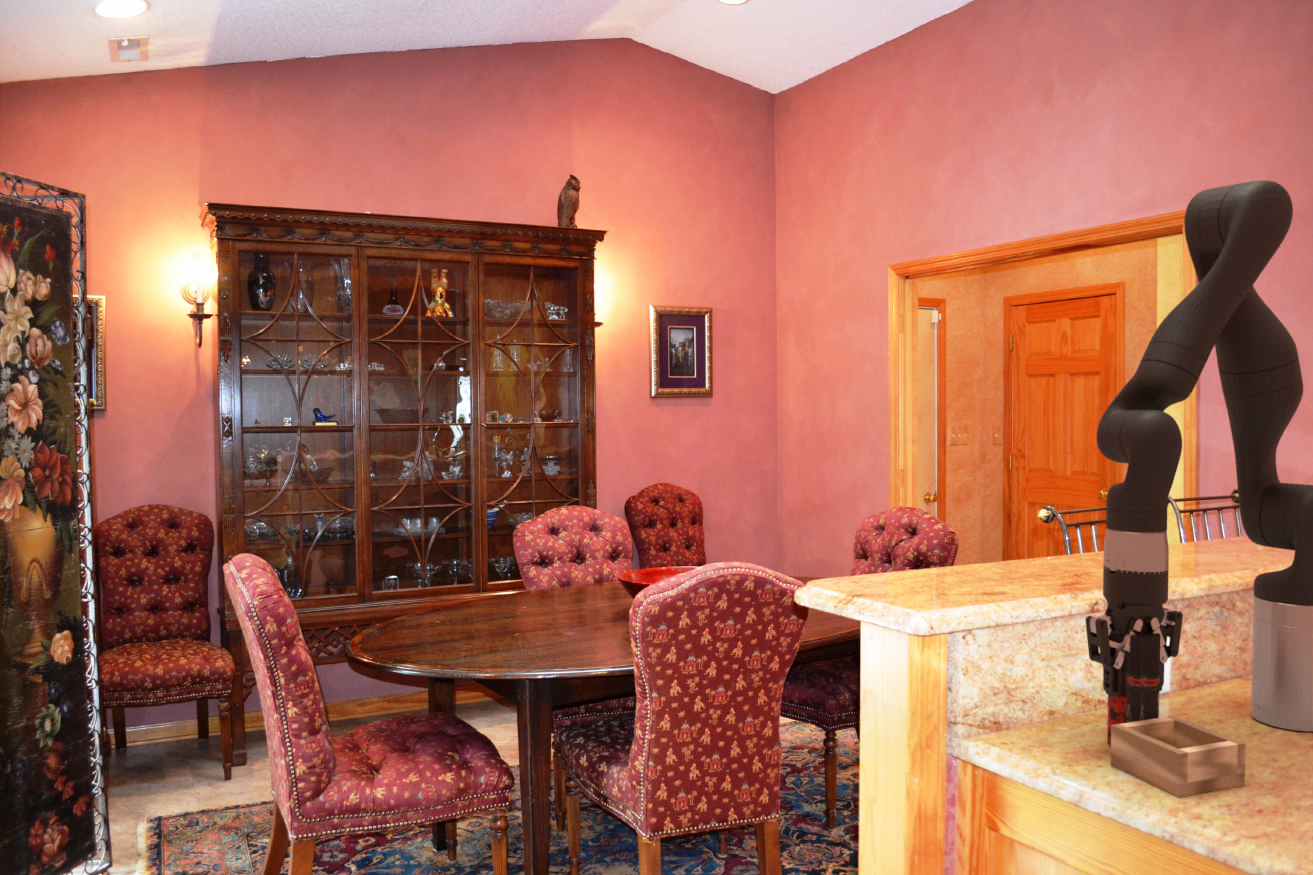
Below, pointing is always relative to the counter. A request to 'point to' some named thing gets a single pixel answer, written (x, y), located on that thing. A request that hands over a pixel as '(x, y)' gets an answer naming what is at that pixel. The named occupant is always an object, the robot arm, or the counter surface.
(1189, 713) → the counter surface
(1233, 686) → the counter surface
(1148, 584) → the robot arm
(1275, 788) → the counter surface
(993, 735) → the counter surface
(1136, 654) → the deodorant
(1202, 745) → the wooden box
